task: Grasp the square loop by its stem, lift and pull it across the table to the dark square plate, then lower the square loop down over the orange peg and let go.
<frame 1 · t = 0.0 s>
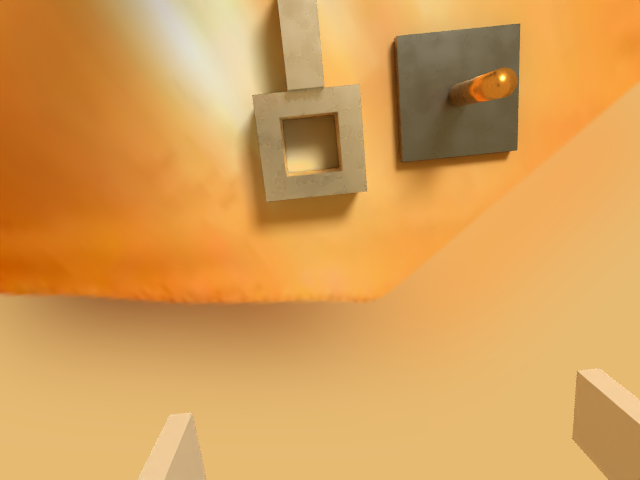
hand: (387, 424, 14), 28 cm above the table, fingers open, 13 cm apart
peg on square plate: (455, 96, 38), on the table
square loop with stem: (311, 144, 38), on the table
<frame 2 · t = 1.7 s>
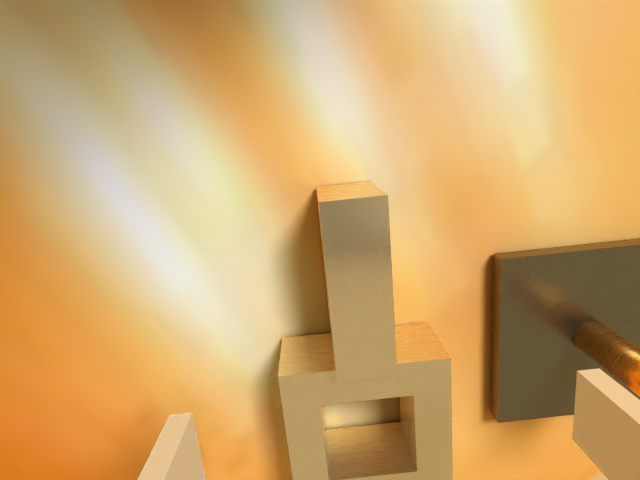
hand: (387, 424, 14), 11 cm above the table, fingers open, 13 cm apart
peg on square plate: (579, 328, 25), on the table
square loop with stem: (360, 393, 26), on the table
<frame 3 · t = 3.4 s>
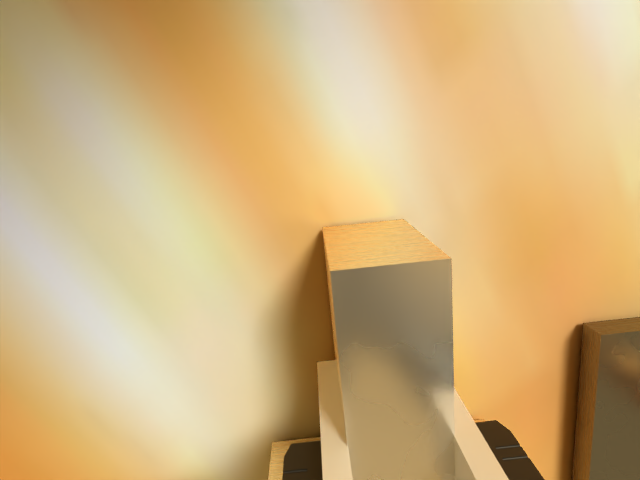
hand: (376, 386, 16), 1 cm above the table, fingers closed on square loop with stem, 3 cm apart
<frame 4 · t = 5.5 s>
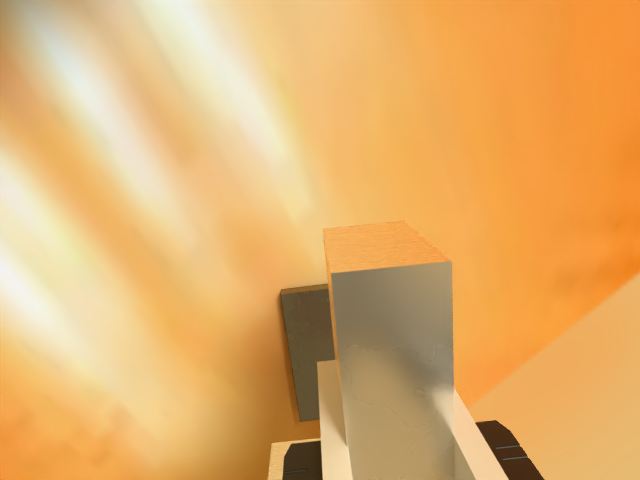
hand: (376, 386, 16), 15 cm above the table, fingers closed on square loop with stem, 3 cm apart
peg on square plate: (360, 345, 32), on the table
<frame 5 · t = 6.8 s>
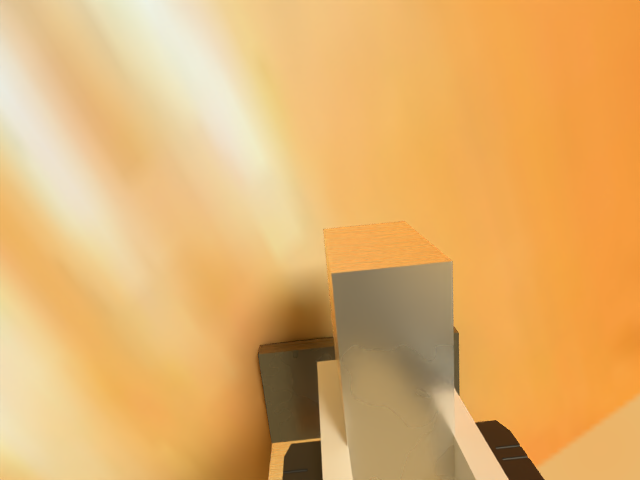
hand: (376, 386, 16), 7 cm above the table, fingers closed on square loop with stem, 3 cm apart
peg on square plate: (363, 416, 24), on the table
when the fingers open (3 cm above the table, at t = 7.7 s): square loop with stem drops 1 cm, resting on peg on square plate.
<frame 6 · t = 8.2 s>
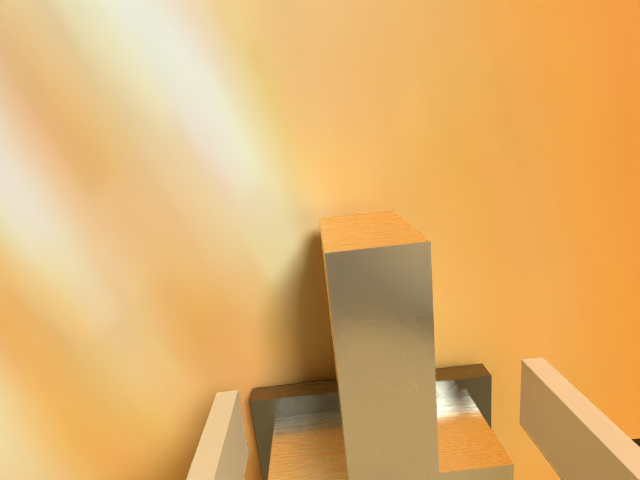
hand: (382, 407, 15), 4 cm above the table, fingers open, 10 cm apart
peg on square plate: (375, 470, 20), on the table
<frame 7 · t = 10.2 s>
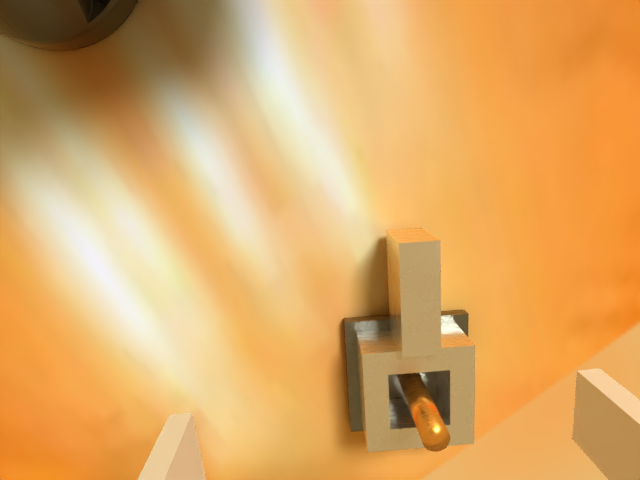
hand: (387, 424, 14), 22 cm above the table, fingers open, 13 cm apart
peg on square plate: (405, 368, 37), on the table
square loop with stem: (408, 374, 37), point 1 cm above the table, touching peg on square plate
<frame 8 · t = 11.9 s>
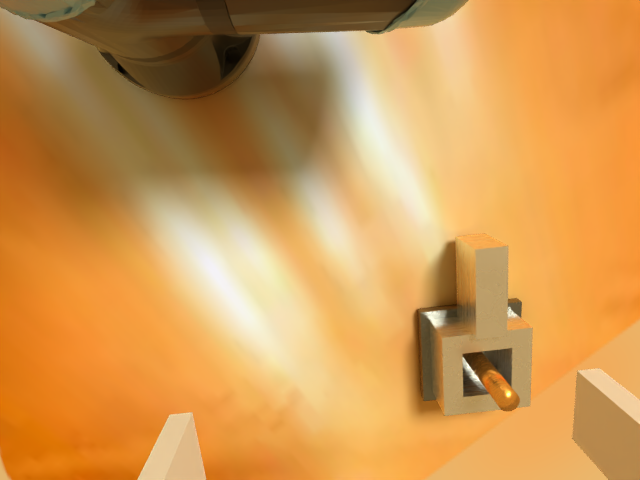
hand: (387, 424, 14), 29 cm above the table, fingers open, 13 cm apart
peg on square plate: (467, 348, 45), on the table
square loop with stem: (471, 352, 44), point 1 cm above the table, touching peg on square plate
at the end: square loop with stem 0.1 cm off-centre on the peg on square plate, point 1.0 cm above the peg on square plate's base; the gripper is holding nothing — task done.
